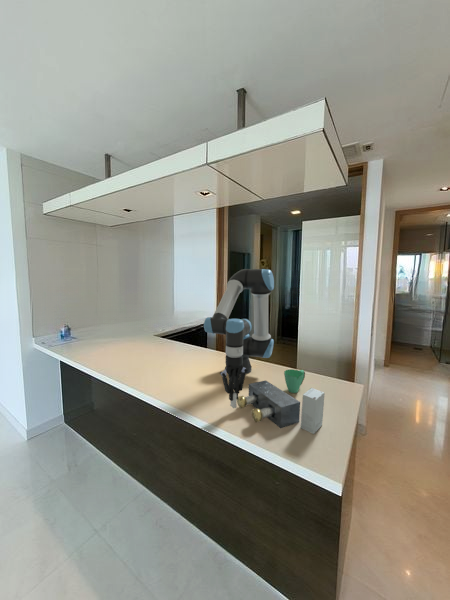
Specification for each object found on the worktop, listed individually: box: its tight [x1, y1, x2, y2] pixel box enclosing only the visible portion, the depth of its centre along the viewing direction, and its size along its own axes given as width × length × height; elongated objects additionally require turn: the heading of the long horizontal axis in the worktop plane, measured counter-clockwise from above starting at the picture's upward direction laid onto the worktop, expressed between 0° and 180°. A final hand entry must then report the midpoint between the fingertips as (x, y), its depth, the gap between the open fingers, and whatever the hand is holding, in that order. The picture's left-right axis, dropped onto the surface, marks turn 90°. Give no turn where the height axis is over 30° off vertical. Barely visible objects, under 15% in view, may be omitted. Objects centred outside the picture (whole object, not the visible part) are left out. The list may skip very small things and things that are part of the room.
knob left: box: [236, 394, 259, 409], centre depth 120 cm, size 5×12×5 cm, turn 118°
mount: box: [248, 380, 301, 429], centre depth 118 cm, size 24×10×9 cm, turn 28°
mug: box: [283, 368, 306, 394], centre depth 140 cm, size 15×10×10 cm
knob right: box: [251, 406, 275, 423], centre depth 109 cm, size 5×12×5 cm, turn 118°
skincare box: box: [300, 387, 325, 435], centre depth 105 cm, size 8×6×15 cm
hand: (233, 406), depth 115 cm, fingers closed
